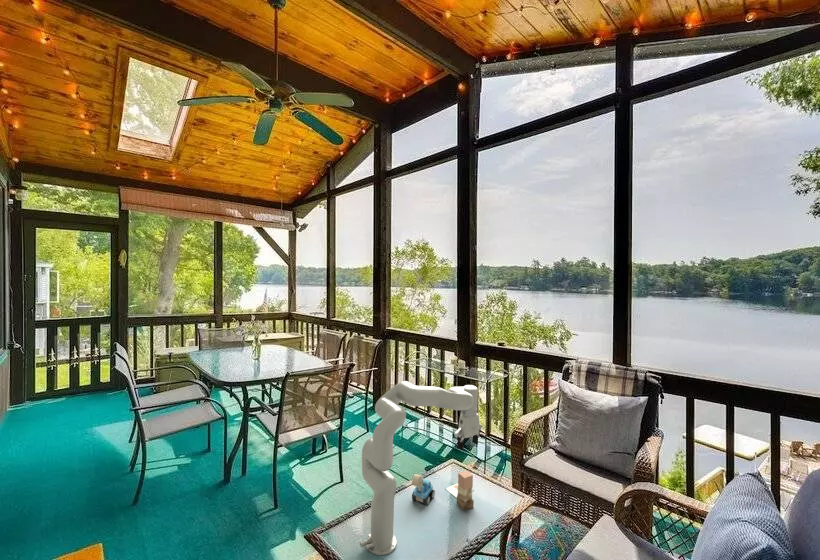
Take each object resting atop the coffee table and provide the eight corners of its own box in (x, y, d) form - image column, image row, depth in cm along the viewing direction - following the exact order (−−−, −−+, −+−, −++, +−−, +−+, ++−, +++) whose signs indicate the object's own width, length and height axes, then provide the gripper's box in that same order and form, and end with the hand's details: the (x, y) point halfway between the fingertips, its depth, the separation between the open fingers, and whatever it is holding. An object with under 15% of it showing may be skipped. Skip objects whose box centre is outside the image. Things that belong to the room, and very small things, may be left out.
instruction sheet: (456, 498, 191) (456, 497, 191) (445, 488, 198) (445, 488, 198) (473, 490, 197) (474, 489, 197) (462, 481, 205) (462, 481, 205)
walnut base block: (462, 511, 182) (462, 503, 181) (456, 503, 187) (456, 495, 187) (473, 508, 184) (473, 500, 183) (467, 500, 189) (467, 493, 189)
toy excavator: (405, 509, 182) (405, 474, 180) (420, 490, 196) (421, 458, 195) (421, 515, 178) (422, 480, 176) (435, 495, 192) (436, 463, 191)
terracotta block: (464, 490, 181) (464, 478, 181) (458, 484, 186) (458, 472, 185) (472, 487, 184) (472, 475, 183) (466, 481, 188) (466, 470, 188)
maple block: (465, 502, 182) (465, 490, 181) (457, 497, 185) (457, 485, 185) (472, 498, 185) (472, 486, 185) (464, 493, 189) (464, 481, 188)
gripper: (461, 418, 174) (459, 454, 175) (487, 410, 184) (486, 444, 185) (450, 412, 180) (449, 447, 181) (476, 405, 190) (475, 438, 191)
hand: (467, 446), depth 183 cm, fingers open, 9 cm apart
